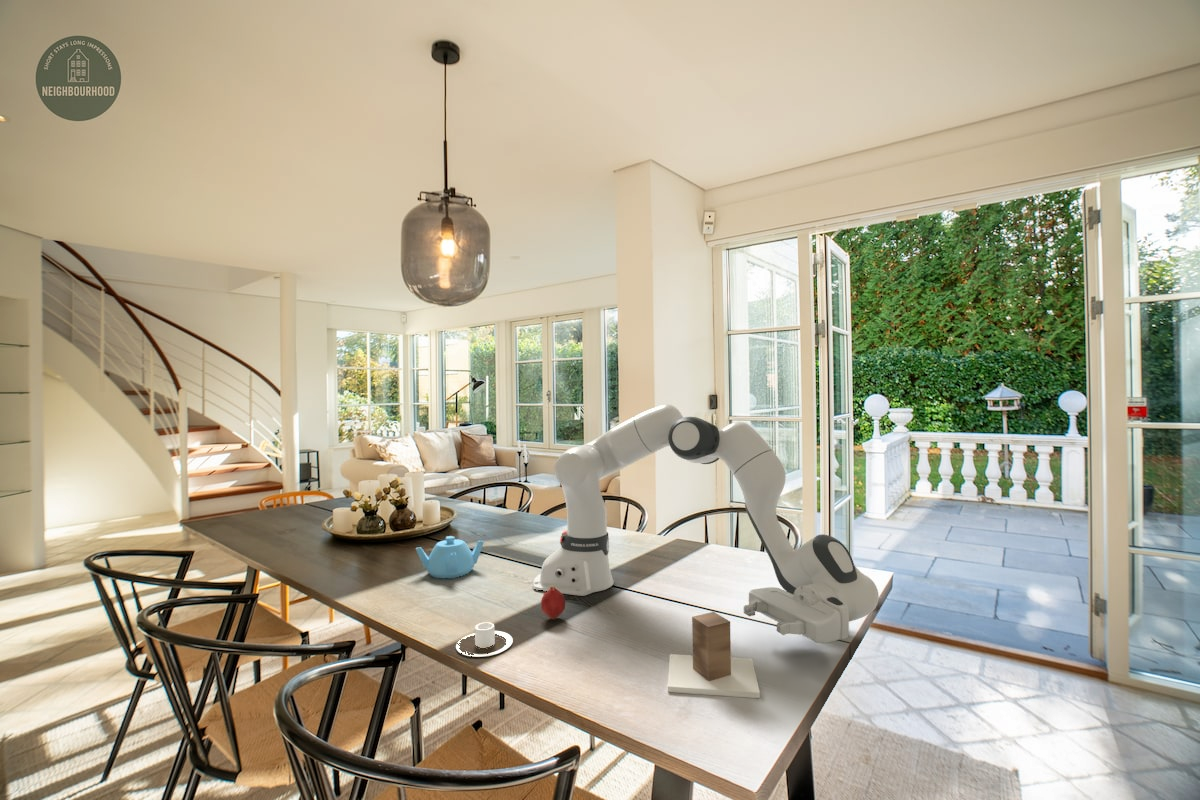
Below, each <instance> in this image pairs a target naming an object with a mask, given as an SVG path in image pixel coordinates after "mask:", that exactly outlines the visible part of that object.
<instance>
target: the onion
mask: <svg viewBox="0 0 1200 800" xmlns="http://www.w3.org/2000/svg"><path fill="white" fill-rule="evenodd" d="M540 607H541V611H542V612H543V614H545V615H546V616H548V617H549V618H550V619H551V620H556V619H557V618H559V616H561V615H562V614H563V612H564V611H565V609H566V598H565V595H564V594H563V593H561V592H560V591H559V590H557V589H556V588H555V587H554V586H551V588H550V590H548V591H547V592H546V591H545V592H544V594H543V596H542V597H541V601H540Z"/></svg>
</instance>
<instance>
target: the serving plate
mask: <svg viewBox="0 0 1200 800" xmlns="http://www.w3.org/2000/svg"><path fill="white" fill-rule="evenodd" d="M667 677H668V678H667V693H676V694H677V693H680V694H691V695H692V694H693V695H704V696H705V695H707V696H719V697H720V696H721V697H723V696H724V697H733V698H735V697H736V698H751V699H752V698H753V699H761V691H760V687H759V684H758V679H757V674H756V671H755V666H754V663H753V659H752V658H741V657H731V675H729V676H726V677H722V678H719V679H716V680H712V681H708V680H706V679H705V678H704V677H703V676H701V675H700V674H699V673H698V672H696V671H695V670H694V669H693V654H692V655H690V654H676V653H675V654H674V653H670V654H669V663H668V675H667Z"/></svg>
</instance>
